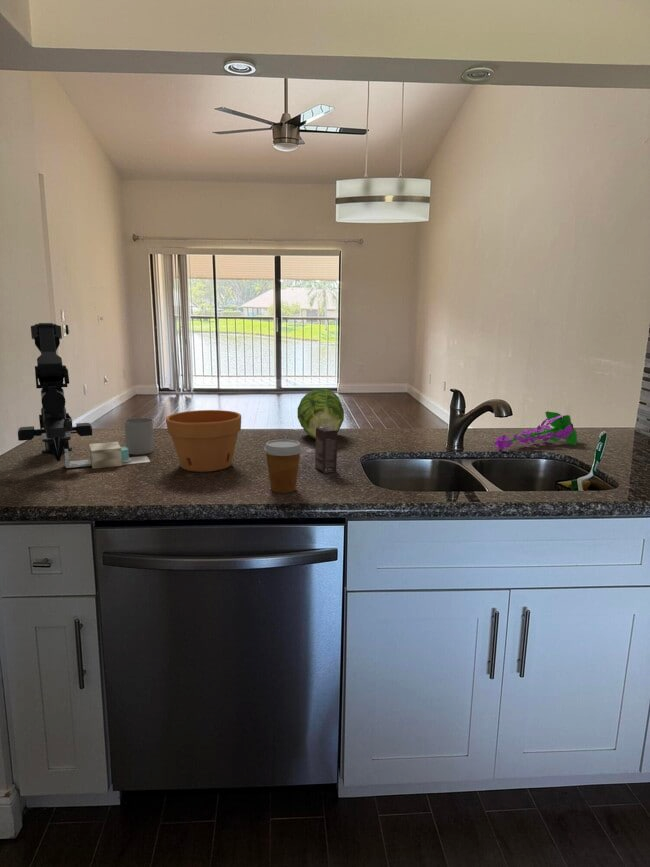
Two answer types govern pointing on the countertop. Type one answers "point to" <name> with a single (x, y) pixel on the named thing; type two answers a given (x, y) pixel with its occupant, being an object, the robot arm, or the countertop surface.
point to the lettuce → (320, 411)
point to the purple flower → (561, 430)
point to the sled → (89, 462)
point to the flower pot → (204, 438)
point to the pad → (137, 460)
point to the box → (326, 449)
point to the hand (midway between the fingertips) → (58, 461)
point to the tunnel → (105, 454)
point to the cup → (139, 435)
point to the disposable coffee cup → (283, 464)
